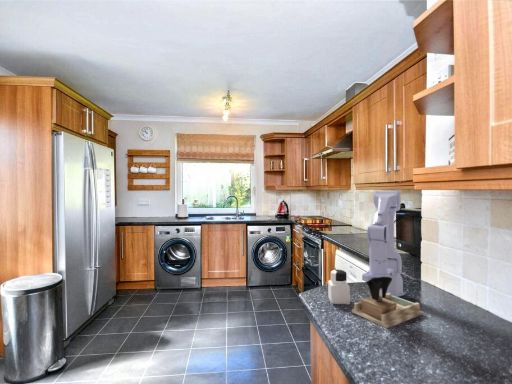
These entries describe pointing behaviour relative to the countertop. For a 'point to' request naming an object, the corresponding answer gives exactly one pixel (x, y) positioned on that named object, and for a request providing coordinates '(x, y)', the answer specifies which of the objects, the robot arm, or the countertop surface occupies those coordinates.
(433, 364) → the countertop surface
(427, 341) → the countertop surface
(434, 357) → the countertop surface
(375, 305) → the block with knob
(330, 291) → the medicine bottle
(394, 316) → the bay
